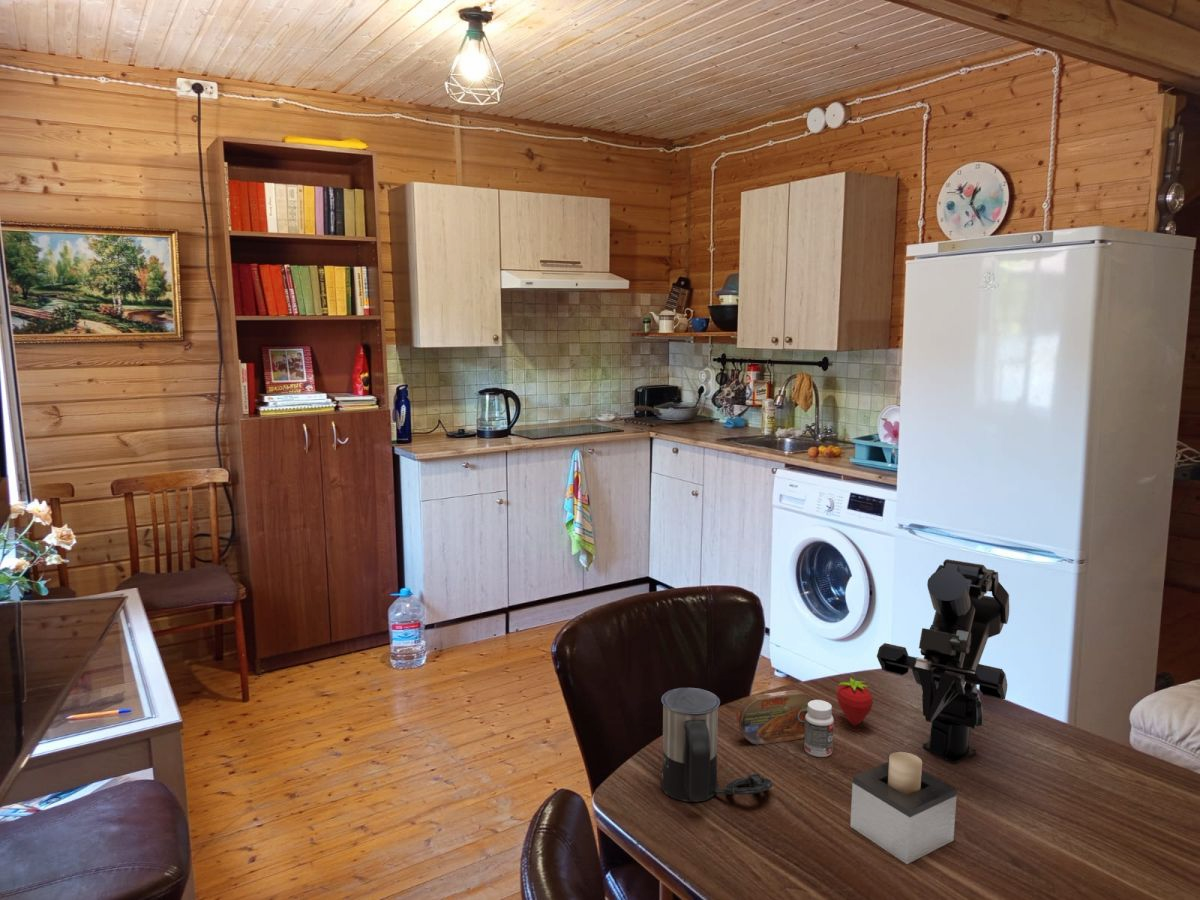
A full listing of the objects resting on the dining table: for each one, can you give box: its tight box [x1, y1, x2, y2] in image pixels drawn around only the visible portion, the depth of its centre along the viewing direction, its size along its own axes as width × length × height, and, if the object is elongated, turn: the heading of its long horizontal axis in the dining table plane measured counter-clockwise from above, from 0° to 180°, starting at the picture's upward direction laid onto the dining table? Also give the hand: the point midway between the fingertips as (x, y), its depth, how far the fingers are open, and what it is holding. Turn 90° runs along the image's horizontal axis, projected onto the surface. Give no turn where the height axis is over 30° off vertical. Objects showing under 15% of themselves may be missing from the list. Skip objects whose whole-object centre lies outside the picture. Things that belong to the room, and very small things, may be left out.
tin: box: [736, 689, 815, 745], centre depth 147 cm, size 15×3×8 cm, turn 104°
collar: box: [850, 761, 958, 865], centre depth 120 cm, size 10×10×8 cm
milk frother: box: [660, 687, 773, 803], centre depth 131 cm, size 14×16×15 cm
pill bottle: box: [804, 699, 835, 758], centre depth 143 cm, size 5×5×8 cm
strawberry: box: [836, 673, 874, 727], centre depth 152 cm, size 6×8×10 cm
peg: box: [888, 751, 923, 796], centre depth 120 cm, size 4×4×8 cm
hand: (928, 721), depth 128 cm, fingers closed
